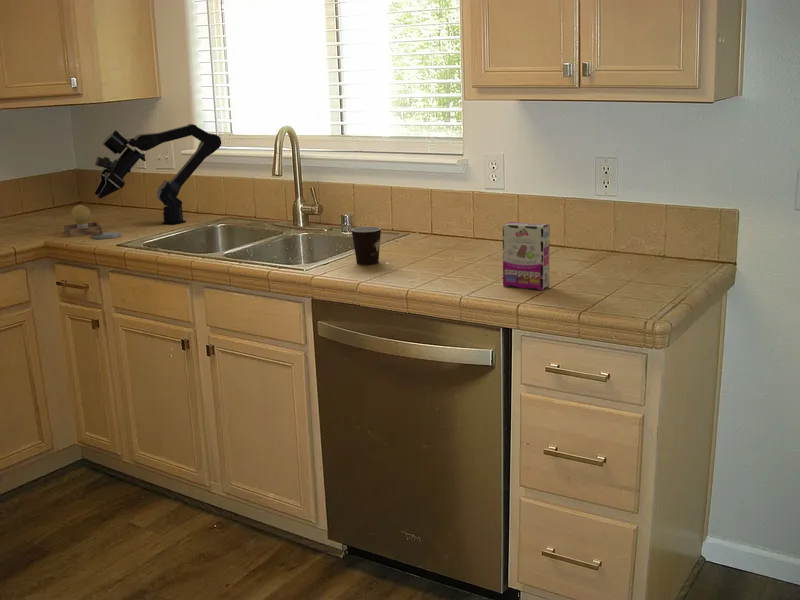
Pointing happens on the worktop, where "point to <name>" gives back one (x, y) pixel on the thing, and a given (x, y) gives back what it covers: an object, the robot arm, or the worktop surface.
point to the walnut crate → (83, 229)
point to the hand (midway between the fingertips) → (97, 196)
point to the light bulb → (81, 216)
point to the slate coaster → (106, 235)
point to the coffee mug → (366, 244)
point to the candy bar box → (526, 255)
